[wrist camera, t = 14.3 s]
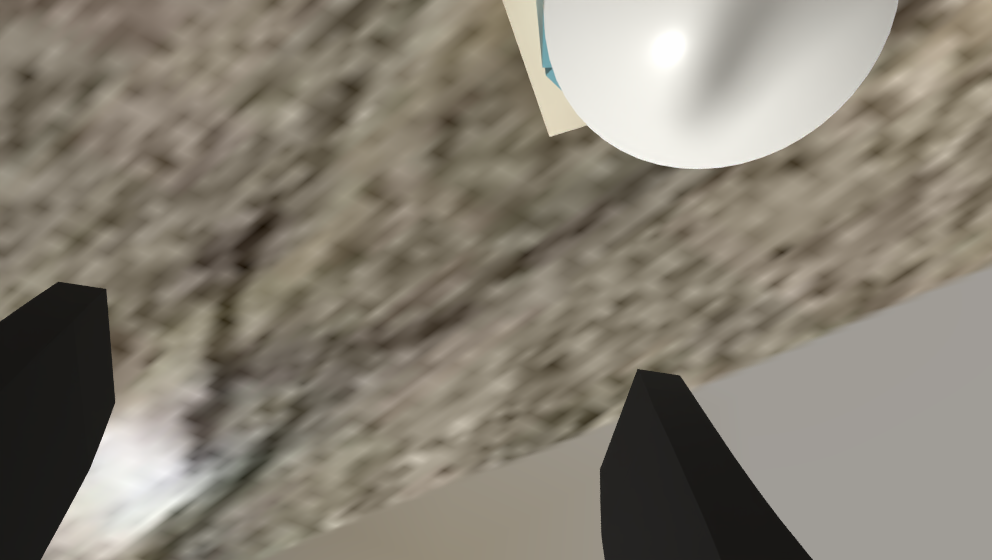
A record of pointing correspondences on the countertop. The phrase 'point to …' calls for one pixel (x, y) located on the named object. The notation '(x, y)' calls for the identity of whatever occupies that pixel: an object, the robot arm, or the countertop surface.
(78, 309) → the robot arm
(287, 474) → the countertop surface
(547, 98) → the stud
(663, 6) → the cap
